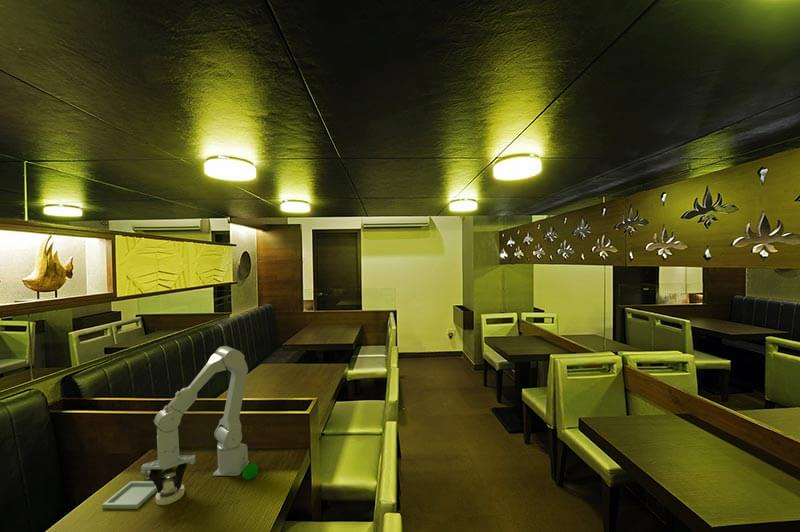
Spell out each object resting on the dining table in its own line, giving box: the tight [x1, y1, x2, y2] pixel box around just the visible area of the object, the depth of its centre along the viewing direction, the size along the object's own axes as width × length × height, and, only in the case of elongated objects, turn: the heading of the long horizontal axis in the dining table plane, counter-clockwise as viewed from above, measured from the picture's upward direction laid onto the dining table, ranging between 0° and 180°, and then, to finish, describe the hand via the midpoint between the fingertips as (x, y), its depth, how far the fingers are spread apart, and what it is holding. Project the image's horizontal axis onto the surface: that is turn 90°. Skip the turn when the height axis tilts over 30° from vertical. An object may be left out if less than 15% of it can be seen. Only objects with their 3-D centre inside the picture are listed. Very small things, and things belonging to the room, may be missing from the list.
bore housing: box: [155, 484, 185, 506], centre depth 111 cm, size 8×8×2 cm
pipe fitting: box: [143, 467, 173, 481], centre depth 125 cm, size 8×4×7 cm
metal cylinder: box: [162, 472, 178, 497], centre depth 111 cm, size 4×4×6 cm
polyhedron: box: [241, 462, 259, 480], centre depth 120 cm, size 5×5×5 cm
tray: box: [101, 480, 158, 510], centre depth 112 cm, size 11×11×1 cm
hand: (170, 489), depth 111 cm, fingers open, 5 cm apart
